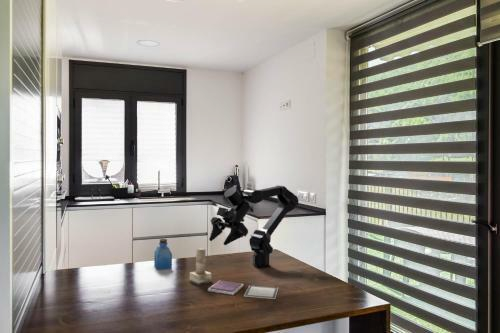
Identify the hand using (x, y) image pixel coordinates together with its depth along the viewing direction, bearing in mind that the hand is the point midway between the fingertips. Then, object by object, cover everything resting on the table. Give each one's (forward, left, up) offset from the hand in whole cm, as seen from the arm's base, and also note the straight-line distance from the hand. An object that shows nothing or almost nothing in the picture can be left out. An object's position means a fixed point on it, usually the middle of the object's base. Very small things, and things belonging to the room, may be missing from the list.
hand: (217, 242), depth 155 cm
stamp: (+7, +3, -14) cm, 16 cm away
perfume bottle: (+18, -20, -14) cm, 30 cm away
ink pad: (0, +14, -14) cm, 20 cm away
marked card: (-11, +21, -14) cm, 28 cm away
